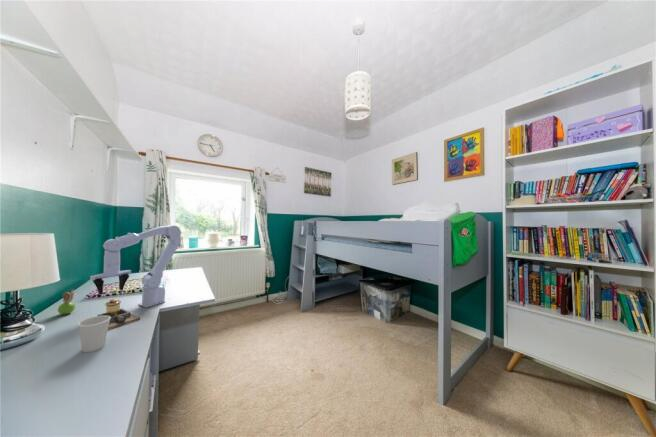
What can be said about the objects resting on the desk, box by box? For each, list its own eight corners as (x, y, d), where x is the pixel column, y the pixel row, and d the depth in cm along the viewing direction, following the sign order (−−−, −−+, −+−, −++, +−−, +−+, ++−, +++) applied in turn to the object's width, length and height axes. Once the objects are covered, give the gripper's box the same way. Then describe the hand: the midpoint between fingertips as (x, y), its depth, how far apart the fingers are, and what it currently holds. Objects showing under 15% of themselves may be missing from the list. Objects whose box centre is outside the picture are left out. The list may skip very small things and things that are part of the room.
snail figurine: (64, 317, 103) (65, 291, 103) (54, 315, 105) (55, 289, 105) (79, 312, 109) (80, 287, 109) (69, 310, 110) (70, 286, 110)
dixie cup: (89, 356, 76) (90, 326, 76) (69, 353, 78) (70, 324, 78) (116, 342, 84) (116, 316, 85) (97, 340, 86) (98, 314, 86)
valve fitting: (117, 314, 106) (117, 297, 106) (122, 316, 103) (123, 299, 103) (102, 318, 101) (103, 301, 101) (107, 321, 99) (108, 303, 99)
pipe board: (123, 312, 111) (123, 306, 111) (139, 319, 103) (140, 313, 103) (89, 321, 100) (89, 314, 100) (105, 330, 93) (105, 323, 93)
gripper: (126, 260, 117) (125, 286, 117) (87, 265, 104) (86, 294, 104) (133, 262, 114) (132, 288, 114) (94, 267, 101) (93, 297, 101)
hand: (111, 291), depth 109 cm, fingers open, 7 cm apart
